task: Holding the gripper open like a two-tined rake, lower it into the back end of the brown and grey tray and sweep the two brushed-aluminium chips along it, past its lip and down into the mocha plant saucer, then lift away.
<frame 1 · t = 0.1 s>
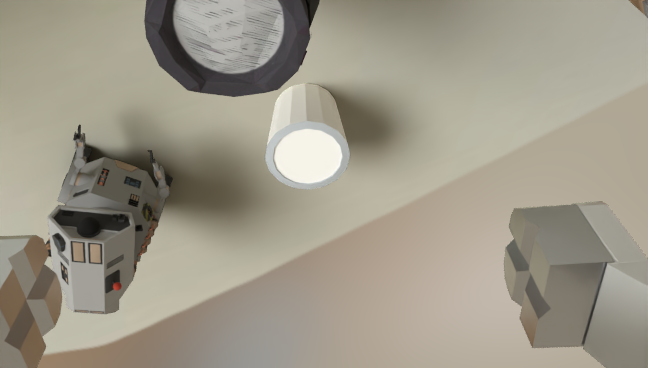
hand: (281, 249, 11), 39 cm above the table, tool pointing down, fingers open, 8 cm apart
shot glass: (305, 109, 55), on the table
figurine: (126, 157, 57), on the table
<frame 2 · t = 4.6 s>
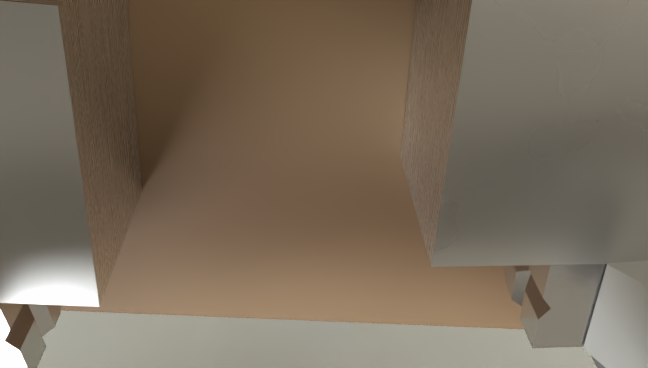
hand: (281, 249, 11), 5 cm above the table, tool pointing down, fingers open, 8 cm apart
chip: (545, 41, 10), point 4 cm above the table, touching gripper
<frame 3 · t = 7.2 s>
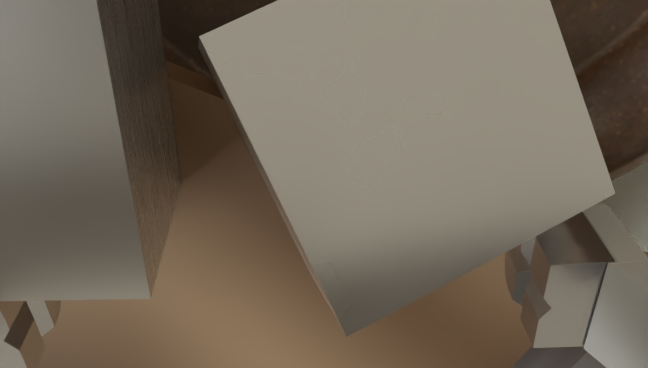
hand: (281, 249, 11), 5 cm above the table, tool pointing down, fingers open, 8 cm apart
brown and grey tray: (172, 311, 19), on the table
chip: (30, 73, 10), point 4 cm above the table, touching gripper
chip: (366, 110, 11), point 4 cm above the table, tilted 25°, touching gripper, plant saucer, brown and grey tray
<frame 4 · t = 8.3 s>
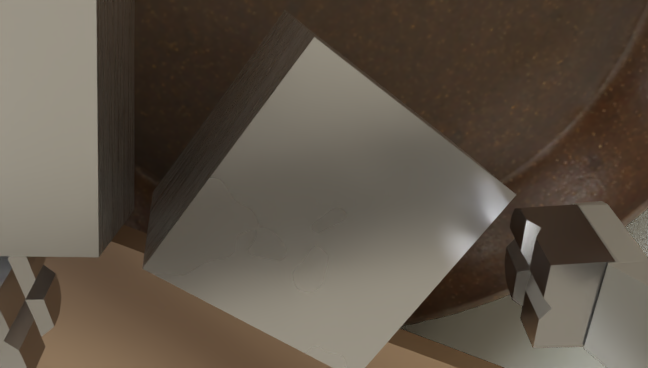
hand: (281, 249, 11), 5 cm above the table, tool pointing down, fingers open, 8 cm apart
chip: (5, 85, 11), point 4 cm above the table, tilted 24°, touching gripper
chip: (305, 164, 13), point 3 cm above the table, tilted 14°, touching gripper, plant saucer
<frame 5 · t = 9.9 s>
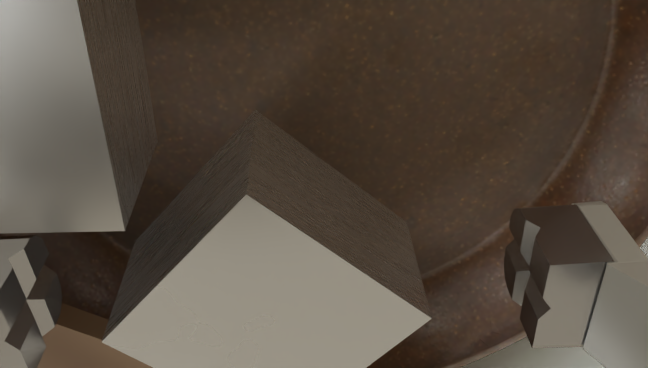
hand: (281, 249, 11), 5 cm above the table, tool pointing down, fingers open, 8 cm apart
plant saucer: (308, 60, 15), on the table, touching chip, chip
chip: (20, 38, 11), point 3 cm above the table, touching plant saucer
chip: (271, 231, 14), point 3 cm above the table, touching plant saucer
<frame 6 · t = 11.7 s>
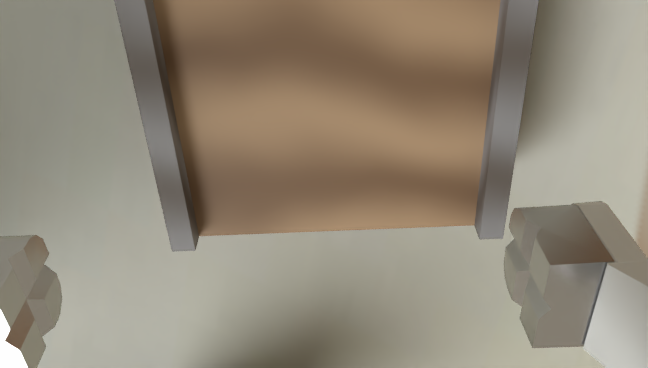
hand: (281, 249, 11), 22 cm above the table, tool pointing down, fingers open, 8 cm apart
brown and grey tray: (328, 38, 31), on the table
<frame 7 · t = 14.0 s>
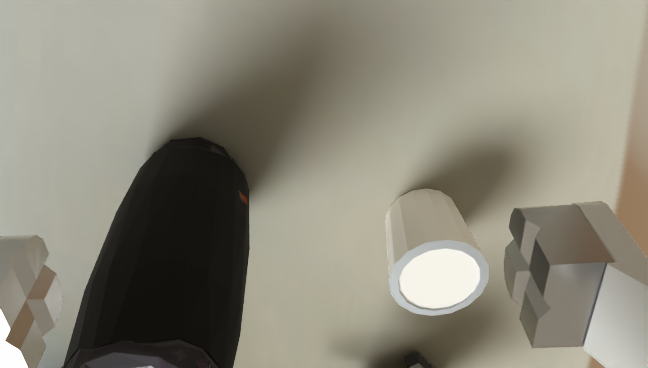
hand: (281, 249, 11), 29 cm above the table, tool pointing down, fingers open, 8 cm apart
portable speaker: (195, 181, 45), on the table
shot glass: (420, 217, 47), on the table
figurine: (374, 367, 57), on the table
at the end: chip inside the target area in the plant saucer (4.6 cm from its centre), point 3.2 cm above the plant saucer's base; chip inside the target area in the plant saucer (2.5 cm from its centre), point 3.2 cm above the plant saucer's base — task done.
